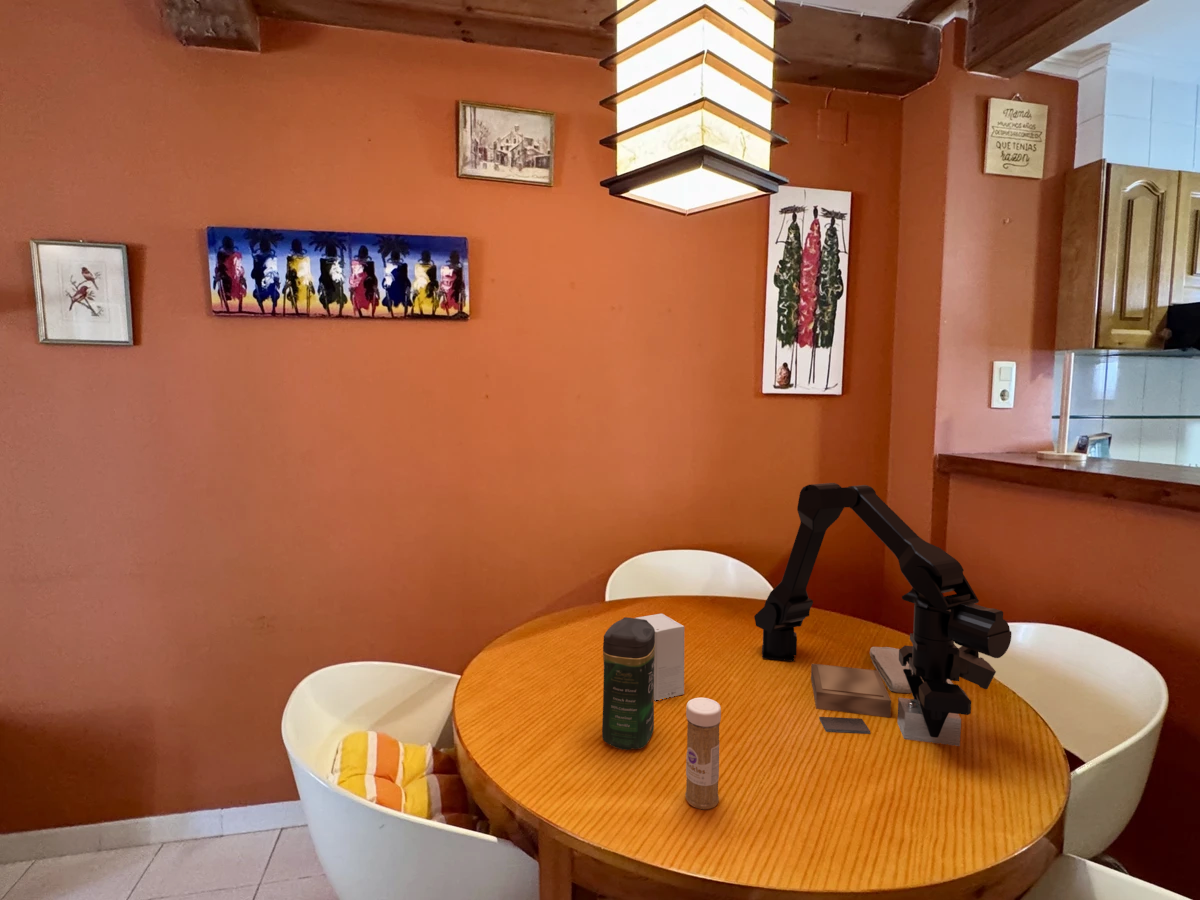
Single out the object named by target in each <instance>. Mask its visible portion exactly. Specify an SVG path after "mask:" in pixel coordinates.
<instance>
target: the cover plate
mask: <svg viewBox="0 0 1200 900" xmlns="http://www.w3.org/2000/svg"><path fill="white" fill-rule="evenodd" d="M818 720H819V722H820V723H821V725H822V728H823V729H824V731H825V732H826V733H838V734H839V733H841V734H842V733H843V734H861V735H862V734H863V735H864V734H865V735H867V734H868V735H870V734H871V730H870V728H869V727H868V725H867V724H866V722H865V721H864V720H863V718H858V717H857V718H854V717H834V716H819V719H818Z"/></svg>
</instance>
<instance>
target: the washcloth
mask: <svg viewBox="0 0 1200 900" xmlns="http://www.w3.org/2000/svg"><path fill="white" fill-rule="evenodd" d="M900 649H901V648H895V647H889V646H882V647H881V646H872V647H870V650H869V655H870V659H871V662H872V664H873V666H874V668H875V670H878V671H879V674H880V676H881V678H882V681H883V683H884V684H885V685H886V687H887V688H888V690H889V691H891V692H893V693H897V694H898V693H899V694H901V693H902V694H909V693H910V694H911V693H912V692H911V690H910V687H909V685H908V682H907V679H906V677H905V674H904V672H903V669H909V664H908V662H907V664H906V666H902V665H901V663H900V661H899V650H900ZM947 682H948V684H954V683H953V681H951V680H950V679H947Z"/></svg>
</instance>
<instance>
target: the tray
mask: <svg viewBox="0 0 1200 900" xmlns="http://www.w3.org/2000/svg"><path fill="white" fill-rule="evenodd" d="M810 666H811V667H810V680H811V681H810V682H811V686H812V693H813V696H814V703H815V709H816V710H817V709H819V710H827V711H833V712H834V711H835V712H842V713H850V714H852V713H853V714H859V715H860V714H861V715H866V716H874V717H876V716H877V717H885V718H891V714H892V713H891V710H892V700H891V697H890V695H889V692H888V690H887V688H886V686H885V685H886V684H885V682H884V680H883V679H882V677H881V675H880V674H879V671H878V670H877V669H869V668H865V669H864V668H857V667H848V666H847V667H846V666H838V665H831V664H830V665H828V664H819V663H811V665H810Z"/></svg>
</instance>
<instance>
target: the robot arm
mask: <svg viewBox="0 0 1200 900" xmlns="http://www.w3.org/2000/svg"><path fill="white" fill-rule="evenodd" d="M796 508H797V513H798V517H799V520H800V524H799V527H798V529H797V532H796V536H795V539H794V542H793V545H792V549H791V552H790V555H789V556H788V557H789V558H788V560H787V563H786V567H785V570H784V573H783V575H782V579H781V581H780V582H779V583H778V584H777V585H776V586H775V587H774V588H773V589H772V590H771V591H770V592H769V595H768V596H767V599H766V601H764V605H763V607H762V608H761V609H760V610H759V611H758V612H757V613H755V615H754V617H753V618H754V622H755V626H756V627H758V628H759V629H762V645H761V658H762V659H766V660H775V661H783V662H784V661H785V662H786V661H787V662H794V661H795V656H797V649H798V647H797V644H798V636H797V632H795V628H797V627H798V628H799V627H802V624H803V622H804V620H805V619H806V617H807V618H808V617H810V611H811V608H812V606H813V605H814V600H812V599H811V598H809V595H808V591H807V587H808V584H809V581H810V578H811V576H812V573H813V569H814V567H815V563H816V561H817V558H818V555H819V552H820V550H821V546H822V543H823V540H824V537H825V535H826V533H827V530H828V528H830V527H831V526H832V525H833V524H834V523H835V522H836V521H837V520H838V519H839V518H840V516H841V514H842V512H843V510H844V509H845V508H849V509H851V510H852V512H854V513H855V514H856V516H858V517H859V518H860V520H861V521H863V523H864V524H865V525H866V526H867V527H868V528H869V529H870V530H871V531H872V532H873V533H874V534H875V535H876V537H878V538H879V540H880V541H881V542H882V543H883V544H884V545H885V546H886V547H887V548H888V549H889V550H890V551H891V553H892V554H894V556H895V558H896V559H897V561H898V565H899V568H900V569H899V570H900V572H901V574H902V575H903V577H904V578H905V579H906V581H907V582H908V583H909V585H910V586H911V590H909V591H908V592H907V593H905V594H904V595H901V599H902V600H903V601H905V602H909V603H912V604H914V605H913V628H912V629H913V631H912V632H913V633H909V640H910V642H911V643H912V645H907V644H906V645H903V646H902V647H901V648H899V649H900V650H899V661H900V663H901V665H902V666H906V664H907V662H908V664H909V669H903V672H904V674H905V677H906V679H907V682H908V685H909V687H910V690H911V692H912V694H911V695H912V698H913V699H915V700H918V703H919V706H920V709H921V711H922V714H923V717H924V720H925V723H926V726H927V729H928V732H929V734H930V736H931V737H935V738H937V737H938V736H939V734H940V732H941V729H942V727H943V724H944V722H945V720H946V718H947V716H948V714H949V713H955V714H958V715H963V716H964V715H966V716H968V715H970V714H971V711H972V700H971V699H970V698H969V696H968V695H967V693H966V692H965V691H964V689H962V687H960V686H959V684H957V683H953V684H948V682H947V679H950V680H951V681H952V682H960V678H961V679H963V680H965V681H968V682H970V683H972V684H974V685H977V686H978V687H979V688H981V689H984V690H988V689H989V687H990V686H991V685H990V684H991V683H992V681H993V680H994V679H993V678H994V677H995V675H996V673H997V671H996V669H995V668H994V667H993V666H992V665H991V664H990V663H989V662H988V661H986V660H985V659H984V658H983V657H981V656H980V657H979V655H980V654H983V655H986V656H989V657H991V658H994V659H999V658H1002V657H1003V656H1004V655H1005V654H1006V653H1007V652H1008V649H1009V647H1010V645H1011V642H1012V631H1011V630H1010V626H1009V623H1008V622H1007V621H1006V620H1005V619H1004V612H1003V611H1002V610H1001V609H997V608H989V607H987V606H982V605H979V601H980V600H979V597H977V595H976V593H975V591H974V590H973V588H972V587H971V584H970V583H969V582H968V579H967V577H966V576H965V575H964V568H963V566H962V564H961V563H960V562H959V561H958V560H957V559H956V558H955V557H954V556H952V555H951V554H949V552H947V551H945V550H944V549H942V548H941V547H939V546H936V545H934V544H932V543H930V542H927V541H926V540H924V539H923V538H922V537H920V536H919V535H918V534H917V533H916V532H915V531H914V530H913V529H912V528H911V527H910V526H909V525H908V524H907V523H906V522H905V521H904V520H902V518H901V517H900V516H898V514H897V513H895V512H894V510H893V509H891V508H890V507H889V505H887V503H886V502H884V500H883V499H882V498H880V497H879V495H877V493H876V490H875V489H874V488H873V487H872V486H871V485H870V486H869V485H867V484H860V485H859V484H857V485H850V486H846V487H845V486H844V487H842V486H841V485H840V484H838V483H836V482H826V483H824V482H823V483H813V484H807V485H805V486H803V487H802V488H801V490H800V491H799V497H798V501H797V507H796ZM948 592H954V594H949V595H945V596H944V593H948ZM956 644H957V645H958V646H960V647H958V646H957V645H956ZM979 653H980V654H979Z"/></svg>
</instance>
